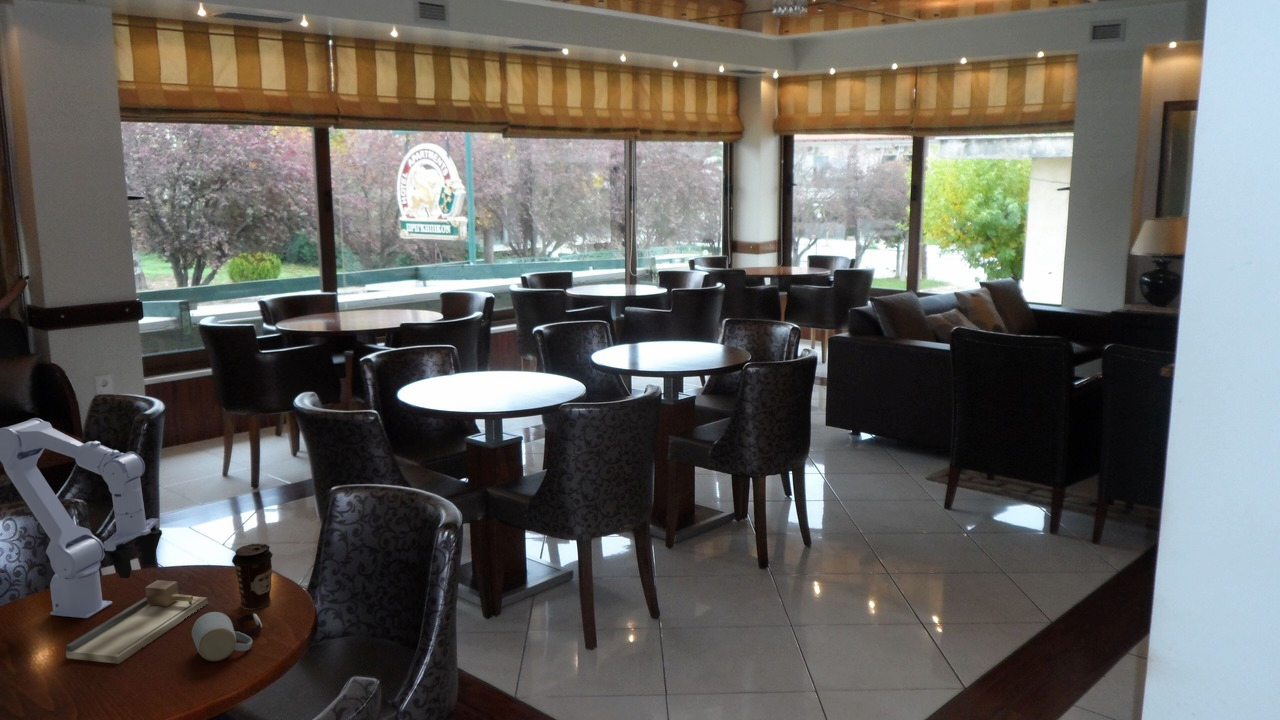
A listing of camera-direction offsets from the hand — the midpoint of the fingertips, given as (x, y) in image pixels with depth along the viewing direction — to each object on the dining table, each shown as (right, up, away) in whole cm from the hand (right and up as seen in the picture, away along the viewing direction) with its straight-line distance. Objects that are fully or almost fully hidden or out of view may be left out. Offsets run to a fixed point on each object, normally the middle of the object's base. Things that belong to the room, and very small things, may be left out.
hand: (137, 570), depth 217 cm
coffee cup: (+23, -9, +7) cm, 26 cm away
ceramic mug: (+25, -14, -15) cm, 32 cm away
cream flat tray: (+3, -11, -5) cm, 13 cm away
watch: (+27, -12, -5) cm, 30 cm away
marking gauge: (+6, -8, +4) cm, 11 cm away
